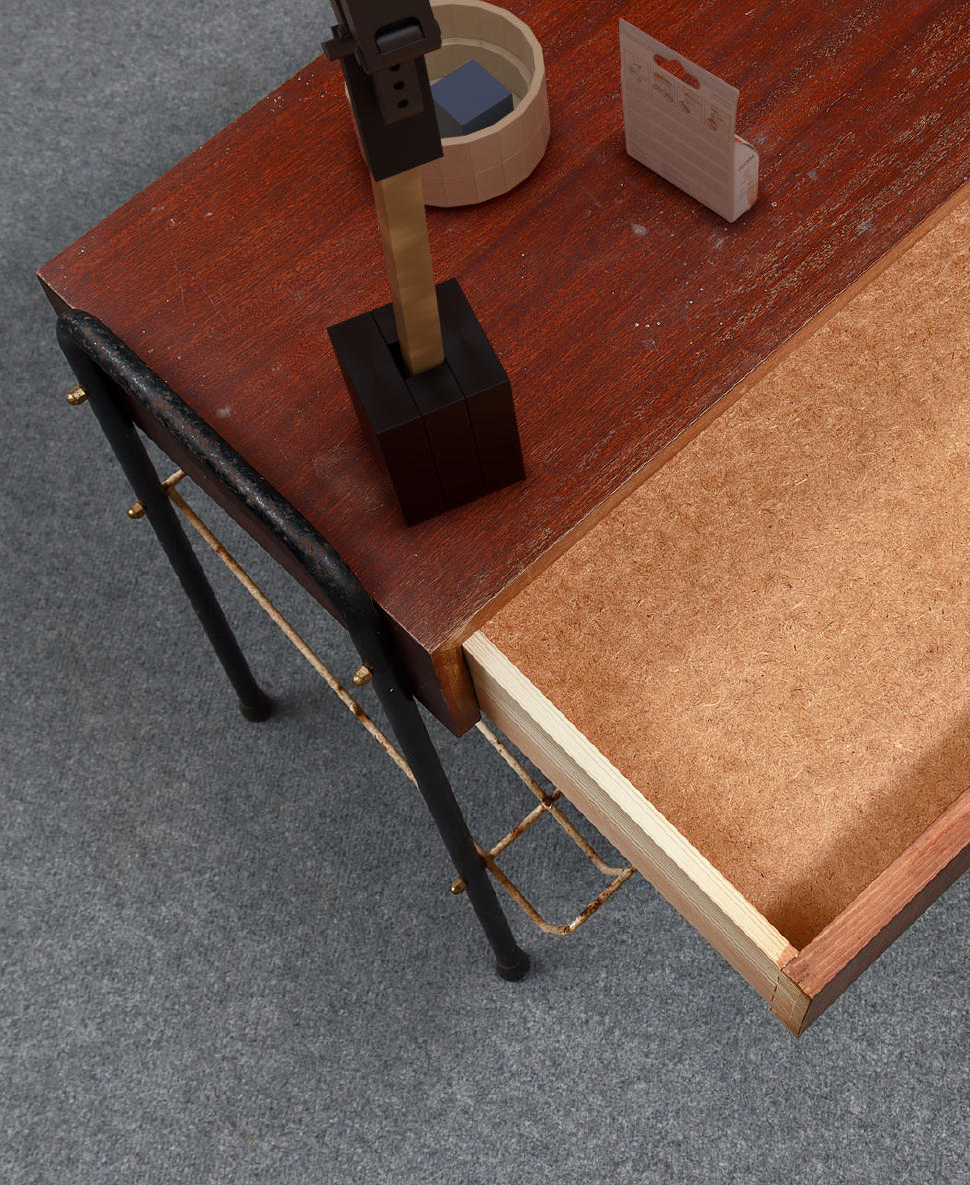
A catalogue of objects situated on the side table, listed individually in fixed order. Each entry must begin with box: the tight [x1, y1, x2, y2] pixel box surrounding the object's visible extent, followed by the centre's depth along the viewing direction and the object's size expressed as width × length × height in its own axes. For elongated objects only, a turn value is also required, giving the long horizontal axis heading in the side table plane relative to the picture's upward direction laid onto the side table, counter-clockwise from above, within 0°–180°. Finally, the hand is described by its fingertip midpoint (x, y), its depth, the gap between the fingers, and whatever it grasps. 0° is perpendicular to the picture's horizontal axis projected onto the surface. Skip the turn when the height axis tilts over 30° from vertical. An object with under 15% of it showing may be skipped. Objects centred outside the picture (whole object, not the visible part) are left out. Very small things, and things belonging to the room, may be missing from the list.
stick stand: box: [325, 276, 527, 529], centre depth 77 cm, size 7×7×10 cm
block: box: [430, 59, 514, 139], centre depth 89 cm, size 4×4×4 cm
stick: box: [368, 166, 445, 379], centre depth 68 cm, size 2×2×30 cm
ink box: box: [618, 17, 760, 224], centre depth 84 cm, size 3×9×12 cm, turn 48°
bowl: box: [343, 0, 551, 208], centre depth 89 cm, size 12×12×6 cm
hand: (341, 43), depth 54 cm, fingers open, 13 cm apart
